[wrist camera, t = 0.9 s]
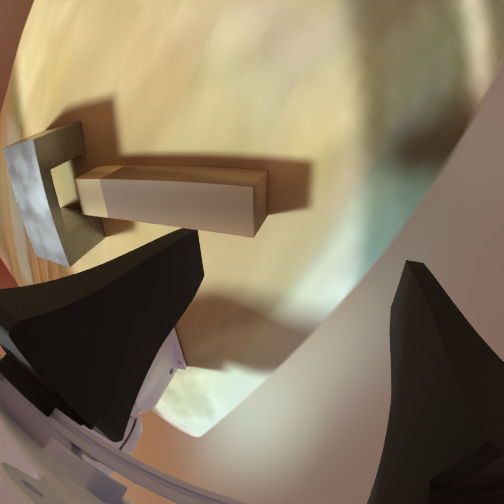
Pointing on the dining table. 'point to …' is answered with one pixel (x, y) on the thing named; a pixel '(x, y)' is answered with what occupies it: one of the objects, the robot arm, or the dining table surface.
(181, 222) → the capped rod
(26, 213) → the sleeve housing
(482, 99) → the dining table surface
